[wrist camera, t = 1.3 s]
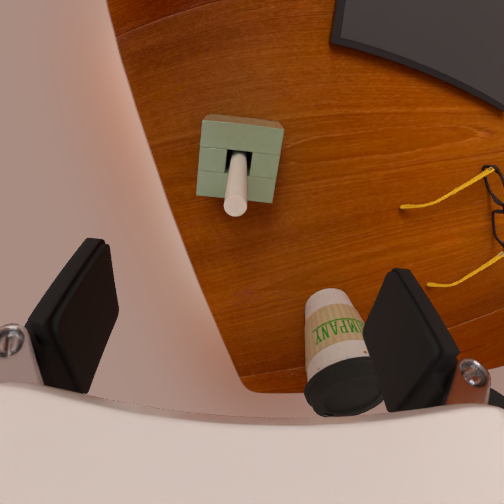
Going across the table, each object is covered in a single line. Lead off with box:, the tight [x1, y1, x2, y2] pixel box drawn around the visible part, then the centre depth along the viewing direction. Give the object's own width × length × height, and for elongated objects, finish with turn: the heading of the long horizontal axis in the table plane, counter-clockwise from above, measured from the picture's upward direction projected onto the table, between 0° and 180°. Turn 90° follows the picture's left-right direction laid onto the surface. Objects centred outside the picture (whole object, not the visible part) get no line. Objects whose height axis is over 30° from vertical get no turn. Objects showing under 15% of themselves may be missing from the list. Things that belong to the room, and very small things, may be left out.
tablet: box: [329, 0, 504, 112], centre depth 21 cm, size 17×24×1 cm
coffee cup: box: [304, 288, 384, 417], centre depth 36 cm, size 10×10×15 cm
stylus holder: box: [196, 114, 284, 203], centre depth 29 cm, size 7×7×4 cm
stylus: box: [224, 150, 247, 217], centre depth 25 cm, size 1×1×14 cm
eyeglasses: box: [399, 165, 504, 287], centre depth 34 cm, size 14×14×4 cm
